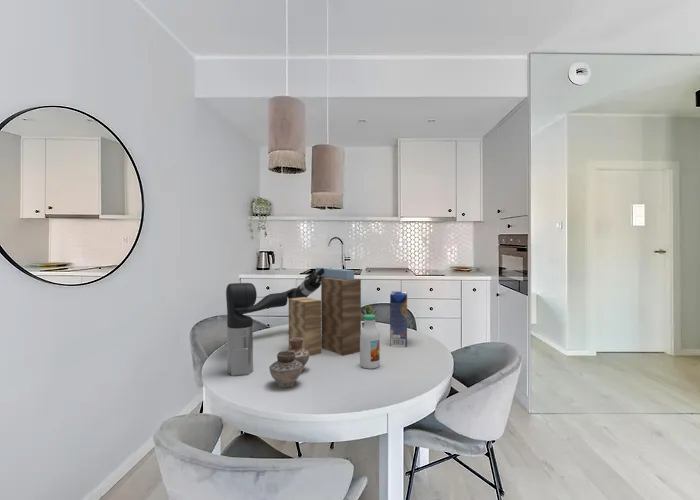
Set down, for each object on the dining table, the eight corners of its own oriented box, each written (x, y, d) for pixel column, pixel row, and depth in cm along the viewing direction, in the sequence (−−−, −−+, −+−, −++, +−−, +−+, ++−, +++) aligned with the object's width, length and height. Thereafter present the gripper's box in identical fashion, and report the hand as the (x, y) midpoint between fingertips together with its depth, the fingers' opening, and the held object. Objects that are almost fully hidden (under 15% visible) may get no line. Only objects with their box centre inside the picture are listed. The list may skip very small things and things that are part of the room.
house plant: (350, 332, 207) (349, 302, 207) (374, 330, 211) (374, 300, 211) (358, 339, 194) (358, 306, 193) (384, 337, 198) (384, 304, 197)
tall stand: (360, 351, 172) (360, 279, 172) (343, 355, 166) (342, 280, 165) (338, 343, 185) (338, 276, 184) (321, 347, 179) (321, 277, 178)
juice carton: (406, 347, 179) (406, 295, 178) (390, 346, 180) (390, 294, 180) (407, 340, 191) (407, 291, 190) (391, 339, 192) (391, 291, 191)
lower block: (321, 353, 170) (321, 300, 169) (305, 356, 165) (305, 302, 164) (303, 346, 181) (303, 296, 180) (288, 349, 176) (288, 298, 175)
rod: (354, 279, 170) (354, 270, 170) (346, 280, 168) (346, 270, 168) (322, 275, 189) (322, 267, 189) (315, 276, 187) (315, 267, 186)
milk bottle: (363, 369, 148) (363, 317, 147) (357, 363, 155) (357, 313, 155) (382, 368, 150) (382, 316, 150) (375, 362, 157) (375, 312, 157)
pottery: (313, 366, 152) (313, 336, 152) (298, 391, 127) (298, 355, 127) (284, 365, 153) (284, 335, 153) (265, 390, 128) (264, 354, 128)
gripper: (295, 279, 191) (312, 263, 179) (319, 277, 200) (337, 261, 188) (299, 293, 188) (317, 277, 176) (324, 290, 197) (342, 275, 185)
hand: (327, 269), depth 182 cm, fingers closed on rod, 4 cm apart
